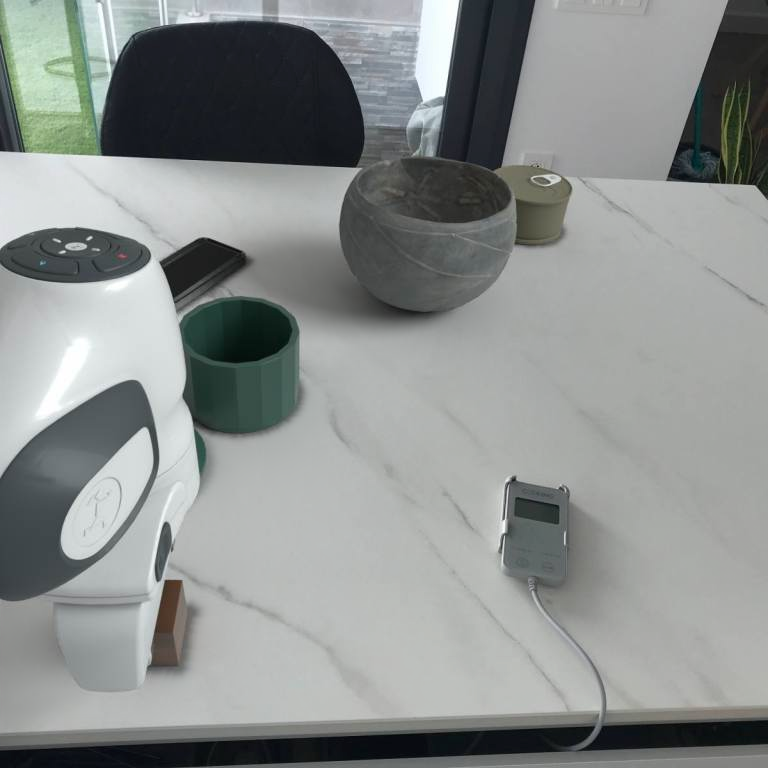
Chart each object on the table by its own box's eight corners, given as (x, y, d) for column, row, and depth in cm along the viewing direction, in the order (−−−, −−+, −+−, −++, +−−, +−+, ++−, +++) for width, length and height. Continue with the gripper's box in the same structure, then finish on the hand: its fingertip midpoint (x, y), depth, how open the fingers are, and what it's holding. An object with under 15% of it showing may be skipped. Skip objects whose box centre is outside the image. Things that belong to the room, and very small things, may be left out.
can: (465, 216, 117) (472, 173, 112) (525, 200, 122) (534, 159, 118) (517, 253, 109) (527, 208, 105) (578, 234, 115) (590, 192, 111)
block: (117, 666, 58) (108, 632, 55) (129, 613, 61) (121, 579, 58) (178, 665, 58) (172, 632, 55) (187, 613, 61) (182, 579, 59)
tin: (285, 440, 77) (285, 374, 72) (169, 424, 78) (160, 358, 72) (307, 367, 86) (308, 304, 81) (203, 354, 87) (197, 290, 81)
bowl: (528, 289, 102) (552, 183, 93) (446, 365, 88) (465, 250, 79) (396, 236, 111) (406, 134, 101) (303, 298, 97) (304, 187, 87)
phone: (249, 253, 101) (171, 305, 91) (249, 260, 102) (172, 313, 92) (202, 235, 104) (120, 284, 94) (202, 242, 105) (122, 291, 94)
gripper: (110, 360, 55) (137, 489, 64) (20, 612, 40) (72, 734, 49) (200, 363, 56) (214, 490, 65) (145, 612, 40) (174, 734, 49)
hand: (153, 597), depth 57 cm, fingers open, 8 cm apart
